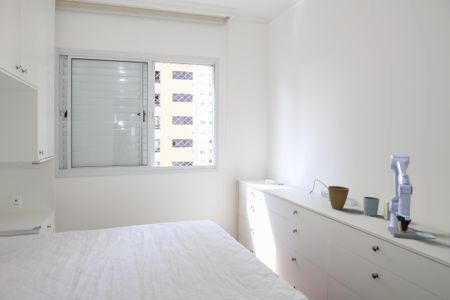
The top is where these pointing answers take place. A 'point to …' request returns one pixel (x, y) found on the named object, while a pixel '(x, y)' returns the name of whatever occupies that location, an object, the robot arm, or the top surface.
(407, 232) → the oak block
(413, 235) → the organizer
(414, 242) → the top surface
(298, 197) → the top surface
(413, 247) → the top surface
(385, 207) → the skincare box
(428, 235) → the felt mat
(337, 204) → the plant pot
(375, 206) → the teal tapered pot
